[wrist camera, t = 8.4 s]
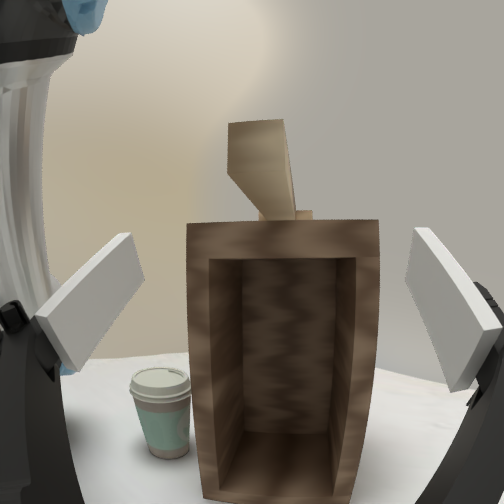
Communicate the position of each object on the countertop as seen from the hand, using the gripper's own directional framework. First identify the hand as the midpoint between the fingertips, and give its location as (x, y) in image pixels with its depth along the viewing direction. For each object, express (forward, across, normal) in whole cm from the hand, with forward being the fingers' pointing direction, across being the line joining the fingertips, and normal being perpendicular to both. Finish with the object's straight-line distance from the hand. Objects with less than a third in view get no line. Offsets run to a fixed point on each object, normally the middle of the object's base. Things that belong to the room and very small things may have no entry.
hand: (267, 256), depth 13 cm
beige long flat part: (+12, 0, -3) cm, 12 cm away
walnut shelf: (+3, 0, -33) cm, 33 cm away
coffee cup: (+3, -16, -33) cm, 37 cm away
